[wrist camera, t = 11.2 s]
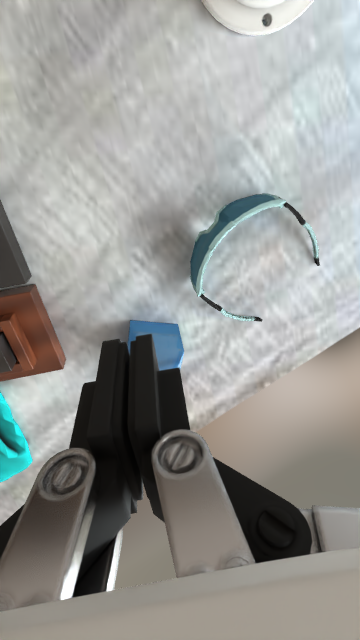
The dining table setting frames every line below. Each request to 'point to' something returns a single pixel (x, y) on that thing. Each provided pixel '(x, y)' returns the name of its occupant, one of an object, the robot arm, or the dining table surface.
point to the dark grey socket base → (11, 256)
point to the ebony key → (6, 355)
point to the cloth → (11, 445)
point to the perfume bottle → (161, 341)
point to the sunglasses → (221, 227)
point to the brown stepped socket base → (29, 333)
